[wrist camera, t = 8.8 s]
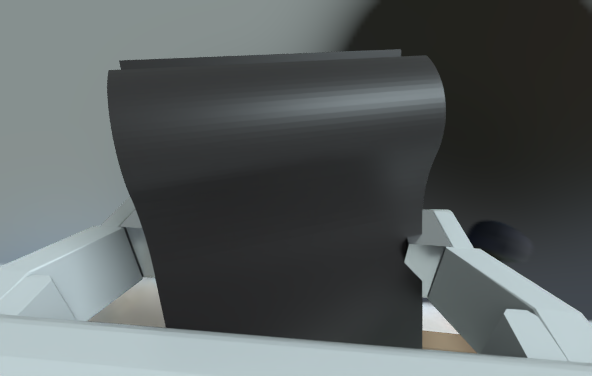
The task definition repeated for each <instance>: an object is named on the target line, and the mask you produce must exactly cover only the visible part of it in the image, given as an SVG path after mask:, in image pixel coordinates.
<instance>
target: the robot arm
mask: <svg viewBox="0 0 592 376" xmlns="http://www.w3.org/2000/svg"><path fill="white" fill-rule="evenodd" d="M404 263H405V264H406V265H407V266H408V267H409V268H410V269H411V270H412V271H413V272H414V273H415V274H416V275H417V276H418V277H419V278H420V279H421V280H422V297H425V298H428V300H429V301H430V302H431V303H432V304H433V306H434V307H435V308H436V309H437V310H438V311H439V312H440V313H441V314H442V315H443V316H444V318H445V319H446V320H447V321H448V322H449V323H450V324H451V325H452V326H453V327H454V328H455V330H456V331H457V332H458V333H459V334H460V335H461V336H462V337H463V338H464V339H465V340H466V342H467V343H468V344H469V345H470V346H471V347H472V348H473V349H474V350H475V351H476V352H477V354H475V353H463V352H451V351H439V350H427V349H415V348H403V347H391V346H379V345H367V344H354V343H342V342H330V341H318V340H306V339H294V338H282V337H270V336H258V335H246V334H234V333H222V332H210V331H198V330H186V329H173V328H161V327H149V326H137V325H125V324H113V323H101V322H89V321H88V320H89V319H90V318H92V317H93V316H94V315H96V314H97V313H98V312H100V311H101V310H102V309H104V308H105V307H106V306H107V305H109V304H110V303H111V302H113V301H114V300H115V299H117V298H118V297H119V296H121V295H122V294H123V293H125V292H126V291H127V290H129V289H130V288H131V287H133V286H134V285H135V284H137V283H138V282H139V281H140V280H142V279H143V278H142V277H147V278H155V274H154V269H153V265H152V261H151V257H150V253H149V249H148V245H147V242H146V238H145V235H144V232H143V229H142V226H141V223H140V220H139V217H138V214H137V212H136V209H135V207H134V204H133V202H132V199H131V197H129V198H128V199H127V200H126V201H125V202H124V203H123V204H122V205H121V206H120V207H119V208H118V209H117V210H116V211H115V212H114V213H113V214H112V215H111V216H110V217H109V218H108V219H107V220H106V221H104V222H103V223H102V224H101V226H93V227H91V228H88V229H86V230H84V231H81V232H79V233H77V234H75V235H72V236H70V237H68V238H65V239H63V240H61V241H58V242H56V243H54V244H51V245H49V246H47V247H44V248H42V249H40V250H37V251H35V252H33V253H31V254H28V255H26V256H24V257H21V258H19V259H17V260H14V261H12V262H10V263H7V264H5V265H3V266H0V376H592V325H591V324H590V323H589V322H588V320H587V319H586V318H585V317H584V316H583V314H582V313H581V312H579V311H577V310H576V309H574V308H573V307H571V306H569V305H568V304H566V303H565V302H563V301H561V300H560V299H558V298H557V297H555V296H554V295H552V294H550V293H549V292H547V291H546V290H544V289H543V288H541V287H539V286H538V285H536V284H535V283H533V282H531V281H530V280H528V279H527V278H525V277H524V276H522V275H520V274H519V273H517V272H516V271H514V270H513V269H511V268H509V267H508V266H506V265H505V264H503V263H501V262H500V261H498V260H497V259H495V258H494V257H492V256H490V255H489V254H487V253H486V252H484V251H482V250H481V249H474V248H473V246H472V244H471V243H470V241H469V239H468V238H467V236H466V234H465V233H464V231H463V229H462V228H461V226H460V224H459V223H458V221H457V219H456V218H455V216H454V215H453V213H452V212H451V211H450V210H422V234H420V235H416V236H412V237H408V238H407V242H406V251H405V260H404Z"/></svg>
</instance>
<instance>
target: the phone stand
mask: <svg viewBox="0 0 592 376" xmlns="http://www.w3.org/2000/svg"><path fill="white" fill-rule="evenodd" d="M119 62H120V67H121V70H109V72H108V80H107V82H108V83H107V93H108V108H109V116H110V123H111V129H112V135H113V140H114V145H115V149H116V154H117V158H118V161H119V165H120V169H121V172H122V175H123V178H124V181H125V184H126V187H127V189H128V192H129V194H130V197H131V199H132V202H133V204H134V207H135V209H136V212H137V214H138V217H139V220H140V223H141V226H142V229H143V232H144V235H145V238H146V242H147V245H148V249H149V253H150V257H151V261H152V265H153V269H154V274H155V278H156V283H157V288H158V292H159V297H160V302H161V306H162V311H163V316H164V320H165V325H166V328H173V329H186V330H198V331H210V332H222V333H234V334H246V335H258V336H270V337H282V338H294V339H306V340H318V341H330V342H342V343H354V344H367V345H379V346H391V347H403V348H415V349H422V280H421V279H420V278H419V277H418V276H417V275H416V274H415V273H414V272H413V271H412V270H411V269H410V268H409V267H408V266H407V265H406V264H405V263H404V260H405V251H406V242H407V238H408V237H412V236H416V235H420V234H422V210H423V199H424V192H425V187H426V182H427V178H428V175H429V171H430V169H431V166H432V163H433V161H434V158H435V156H436V154H437V152H438V149H439V146H440V144H441V141H442V137H443V133H444V127H445V117H446V115H445V114H446V107H445V96H444V90H443V86H442V82H441V79H440V76H439V74H438V72H437V70H436V67H435V66H434V64H433V63H432V61H431V60H430V59H429V58H428V57H427V56H426V55H424V56H403V57H401V49H397V50H372V51H348V52H326V53H325V52H322V53H298V54H273V55H249V56H223V57H199V58H174V59H149V60H124V61H119Z"/></svg>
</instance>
